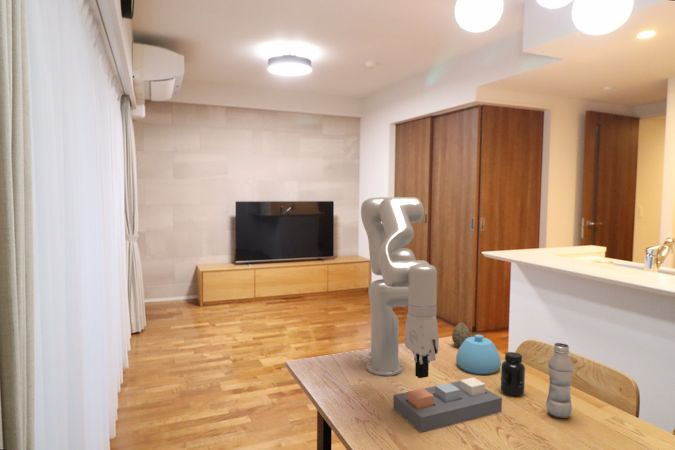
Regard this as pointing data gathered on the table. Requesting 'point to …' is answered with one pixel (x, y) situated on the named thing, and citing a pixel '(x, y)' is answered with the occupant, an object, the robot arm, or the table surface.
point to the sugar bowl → (478, 355)
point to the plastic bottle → (560, 382)
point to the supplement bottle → (513, 375)
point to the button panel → (447, 409)
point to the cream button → (472, 387)
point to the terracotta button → (420, 398)
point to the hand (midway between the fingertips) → (421, 376)
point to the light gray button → (447, 392)
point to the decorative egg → (460, 334)
